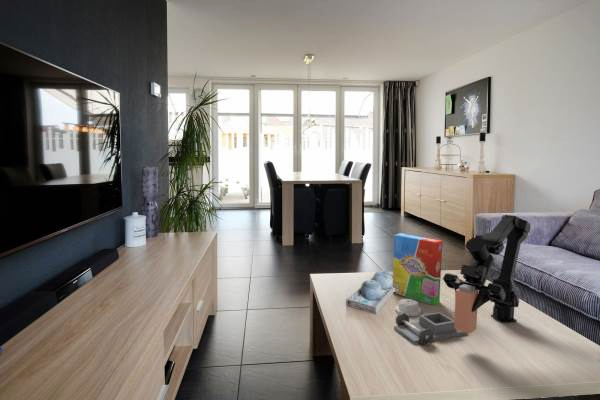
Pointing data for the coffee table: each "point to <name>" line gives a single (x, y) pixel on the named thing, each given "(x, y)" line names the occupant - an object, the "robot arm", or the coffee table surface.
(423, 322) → the chassis
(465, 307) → the two-tone capped block
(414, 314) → the mechanical component
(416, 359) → the coffee table surface
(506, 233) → the robot arm
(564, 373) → the coffee table surface
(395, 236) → the game box
